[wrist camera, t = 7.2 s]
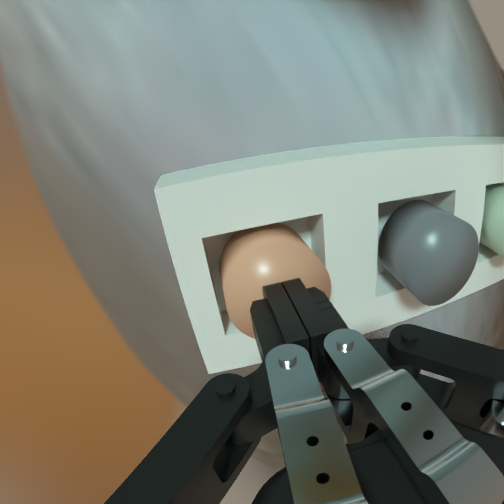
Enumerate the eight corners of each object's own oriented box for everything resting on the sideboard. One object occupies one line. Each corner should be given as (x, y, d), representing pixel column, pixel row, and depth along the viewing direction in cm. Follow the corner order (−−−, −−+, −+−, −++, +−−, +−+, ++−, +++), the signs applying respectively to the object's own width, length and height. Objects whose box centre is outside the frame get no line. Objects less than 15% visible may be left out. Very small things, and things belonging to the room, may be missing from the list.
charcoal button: (378, 206, 15) (417, 230, 12) (443, 194, 15) (483, 214, 12) (376, 283, 16) (407, 316, 14) (436, 265, 17) (470, 292, 14)
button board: (161, 174, 15) (153, 189, 12) (507, 136, 17) (537, 144, 14) (205, 339, 19) (208, 373, 16) (495, 255, 21) (519, 271, 19)
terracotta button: (210, 231, 15) (215, 262, 12) (303, 213, 15) (329, 238, 12) (228, 309, 17) (236, 350, 14) (309, 291, 17) (331, 326, 14)
